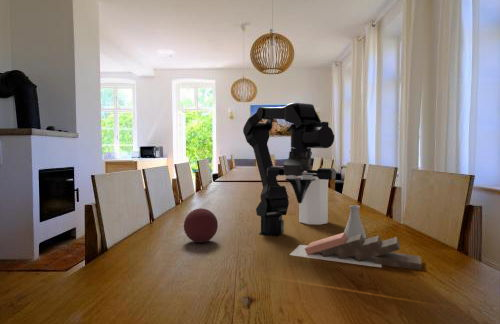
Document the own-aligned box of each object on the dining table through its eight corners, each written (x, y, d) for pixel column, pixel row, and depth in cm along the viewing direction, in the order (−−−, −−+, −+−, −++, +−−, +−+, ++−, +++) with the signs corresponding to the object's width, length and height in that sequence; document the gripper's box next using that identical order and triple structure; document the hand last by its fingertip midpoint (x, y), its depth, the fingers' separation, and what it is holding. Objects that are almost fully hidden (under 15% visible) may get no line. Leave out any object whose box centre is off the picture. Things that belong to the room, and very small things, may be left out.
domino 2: (320, 250, 83) (359, 239, 79) (325, 244, 89) (361, 233, 85) (323, 256, 83) (361, 245, 79) (327, 250, 88) (364, 239, 84)
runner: (289, 256, 84) (289, 254, 84) (300, 246, 94) (300, 244, 94) (381, 269, 75) (381, 267, 75) (383, 256, 85) (383, 254, 85)
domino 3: (337, 252, 81) (377, 241, 78) (341, 246, 87) (378, 235, 83) (340, 259, 81) (380, 247, 77) (343, 252, 87) (381, 241, 83)
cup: (332, 221, 127) (332, 173, 126) (322, 226, 118) (322, 175, 117) (305, 217, 133) (305, 172, 132) (293, 222, 124) (293, 173, 123)
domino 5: (374, 256, 78) (421, 264, 74) (375, 249, 83) (419, 256, 79) (373, 263, 78) (421, 271, 74) (375, 255, 83) (419, 262, 79)
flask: (368, 241, 99) (368, 208, 98) (343, 240, 100) (343, 207, 100) (364, 235, 106) (365, 204, 105) (341, 234, 107) (341, 203, 107)
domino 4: (354, 254, 80) (396, 243, 76) (357, 248, 85) (396, 236, 81) (357, 261, 80) (399, 249, 76) (360, 254, 85) (399, 243, 81)
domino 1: (304, 248, 85) (341, 237, 81) (310, 242, 90) (345, 232, 86) (307, 254, 85) (344, 243, 81) (312, 248, 90) (347, 237, 86)
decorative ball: (224, 241, 98) (224, 208, 98) (198, 249, 91) (197, 213, 90) (203, 235, 105) (203, 204, 104) (177, 242, 98) (176, 208, 97)
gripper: (258, 147, 90) (258, 204, 90) (327, 148, 81) (326, 210, 82) (274, 147, 100) (273, 198, 100) (336, 148, 91) (335, 204, 92)
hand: (300, 202), depth 93 cm, fingers closed
